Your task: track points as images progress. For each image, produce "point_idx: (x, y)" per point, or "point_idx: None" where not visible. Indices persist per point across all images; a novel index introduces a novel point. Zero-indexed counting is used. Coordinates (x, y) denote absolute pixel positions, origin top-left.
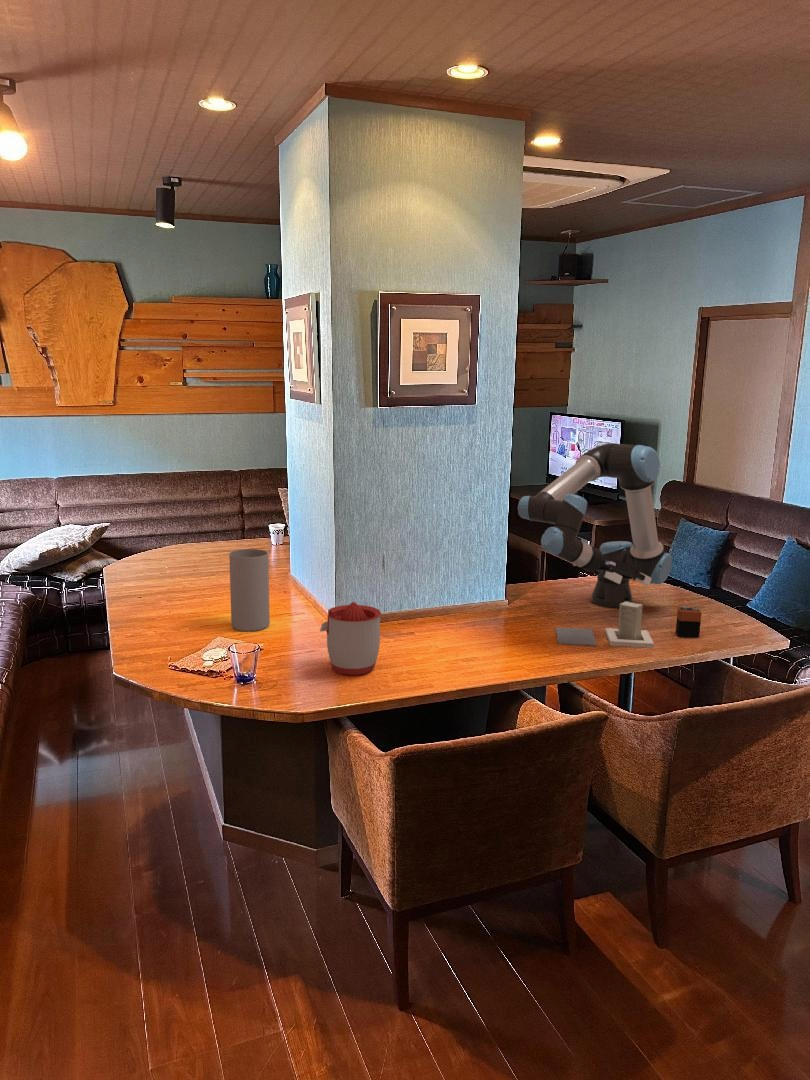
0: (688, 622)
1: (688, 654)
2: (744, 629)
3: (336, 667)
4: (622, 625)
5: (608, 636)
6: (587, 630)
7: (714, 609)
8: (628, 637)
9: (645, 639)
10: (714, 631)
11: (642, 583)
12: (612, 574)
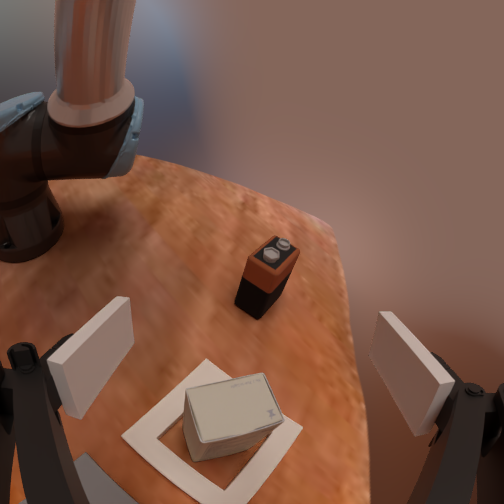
0: (279, 284)
1: (357, 389)
2: (273, 215)
3: None
4: (211, 453)
5: (184, 491)
6: (87, 473)
7: (180, 175)
8: (230, 453)
9: None
10: None
11: (382, 378)
12: (96, 353)
